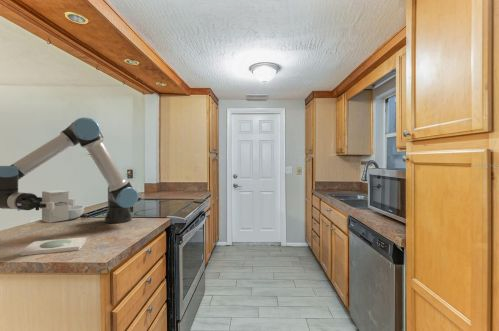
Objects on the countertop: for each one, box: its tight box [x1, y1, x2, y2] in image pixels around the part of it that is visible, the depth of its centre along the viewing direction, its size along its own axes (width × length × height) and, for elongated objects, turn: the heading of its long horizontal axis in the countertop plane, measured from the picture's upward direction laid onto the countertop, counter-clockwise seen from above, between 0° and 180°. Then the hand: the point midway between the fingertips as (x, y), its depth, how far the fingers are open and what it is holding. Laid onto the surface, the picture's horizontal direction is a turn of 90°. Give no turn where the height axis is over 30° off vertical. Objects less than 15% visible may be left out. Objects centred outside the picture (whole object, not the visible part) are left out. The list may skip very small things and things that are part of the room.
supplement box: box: [41, 189, 70, 224], centre depth 114 cm, size 7×7×13 cm
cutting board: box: [19, 236, 87, 256], centre depth 114 cm, size 20×14×2 cm
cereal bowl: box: [67, 204, 85, 221], centre depth 168 cm, size 17×17×7 cm
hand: (64, 204), depth 113 cm, fingers closed on supplement box, 9 cm apart
